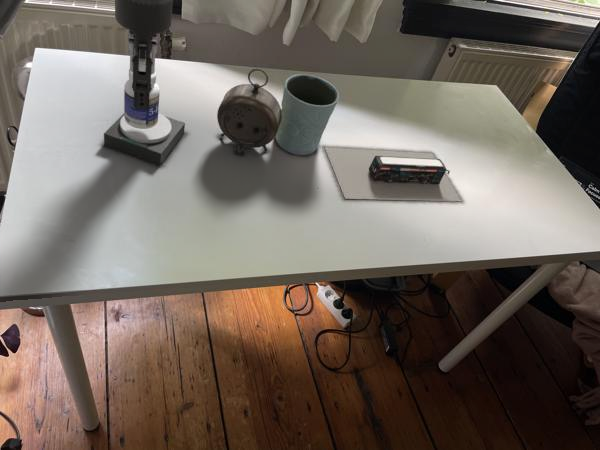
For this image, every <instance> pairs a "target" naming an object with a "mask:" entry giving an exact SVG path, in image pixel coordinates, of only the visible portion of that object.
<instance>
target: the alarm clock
mask: <svg viewBox="0 0 600 450" xmlns="http://www.w3.org/2000/svg"><path fill="white" fill-rule="evenodd" d="M256 71H257V72H258V71H259V72H262V73H263V74H264V76H265V78H266V81H265V83H264V84H262V85H260V84H259V83H258V82H255V83H253V82H252V80H251V74H252V73H253V72H256ZM247 80H248V82H249V83H243V84H237V85H235V86H233V87H231V88H230V89H229V90H228V91H226V93H225V94H224V96H223V99H222V101H221V103H220V104H219V107H218V109H217V115H216V117H217V123H218V126H219V129H220V130H221V132H222V133H220V137H222V138H223V137H226V138H228V139H229V141H231V142H232V143H234V144H236V145H238V149H237V153H238V154H242V152H243V148H249V149H257V148H263V150H264V152H267V151H268V148H267V145H269V144H270V143H271V142H272V141H273V140H274V139H275V138H276V134H277V131H278V128H279V126H280V123H281V119H282V112H281V109H282V107H281V105H280V103H279V101H278V100H277V98H276V97H275V96H274V94H272V93H271V92H270V91H268V90H267V89H266V88H264V86H266V85H267V84H268V82H269V76H268V74H267V72H266V71H265V70H263V69H262V68H258V67H257V68H252V69H251V70H250V71H249V72H248V74H247Z"/></svg>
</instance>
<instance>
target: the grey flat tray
mask: <svg viewBox="0 0 600 450" xmlns="http://www.w3.org/2000/svg"><path fill="white" fill-rule="evenodd" d="M324 149H325V152H326V154H327V157H328V160H329V162H330V164H331V167H332V169H333V172H334V175H335V177H336V179H337V181H338V185H339V187H340V189H341V192H342V195H343V197H344V199H345V200H385V201H386V200H388V201H390V200H391V201H392V200H393V201H434V202H435V201H436V202H438V201H439V202H462V200H461V197H459V194H458V193H457V192H456V190H455V189H454V187H453V185H452V183H451V181H450V180H449V179H448V177H447V175H449V174H450V171H451V170H448V169H447V167H446V165H445V164H444V162H443V161H442V159H440V158H436V157H435V155H434V154H433V153H431V152H429V153H428V152H415V151H413V152H411V151H398V150H397V151H396V150H379V149H378V150H377V149H362V148H361V149H360V148H343V147H324ZM446 172H447V175H446Z"/></svg>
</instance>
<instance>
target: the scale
mask: <svg viewBox="0 0 600 450" xmlns="http://www.w3.org/2000/svg"><path fill="white" fill-rule="evenodd" d="M185 127H186V123H185V122H182V121H180V120H177V119H175V118H172V117H169V116H167V115H164V114H162V113H160V112H158V122H157V124H156V125H155V126H154V127H152V128H148V129H139V128H135V127H132V126H130V125H129V124H128V123H127V122H126V121H125V118H124V113H122V115H121V116H119V118H118V119H116V120H115V121H114V123H113V124H112V125H111V126H110V127H109V128H108V129H107V130H106V131H104V133H103V143H104V146H106V147H109V148H111V149H114V150H116V151H117V150H118V151H121V152H123V153H125V154H129V155H132V156H135V157H138V158H140V159H142V160H146V161H148V162H151V163H154V164H157V165H162V164H163V162H164V161H165V159H166V158H167V157H168V155H169V154H170V153H171V152H172V151H173V149H174V148H175V146H177V144H178V142H179V141H180V139H182V137H183V136H184V135H185Z"/></svg>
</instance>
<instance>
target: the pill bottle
mask: <svg viewBox="0 0 600 450" xmlns="http://www.w3.org/2000/svg"><path fill="white" fill-rule="evenodd" d="M132 82H133V72H132V71H131V70H130V68H129V69H128V80H127V81H126V82H125V84H124V87H123V88H124V89H123V91H124V93H123V95H124V96H123V97H124V98H123V99H124V100H123V103H124V106H123V108H124V111H123V114H124V118H125V121H126V122H127V123H128V124H129V125H130V126H132V127H135V128H139V129H148V128H152V127H154V126H155V125H156V124H157V122H158V113H159V108H160V90H161V89H160V86H159V84H158V83H157V72H156V71H155V72H154V74H152V75H151V84H152V86H151V87H152V90H150V93H149V109H147V110H142V109H136V108H134V91H133V88H132Z"/></svg>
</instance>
